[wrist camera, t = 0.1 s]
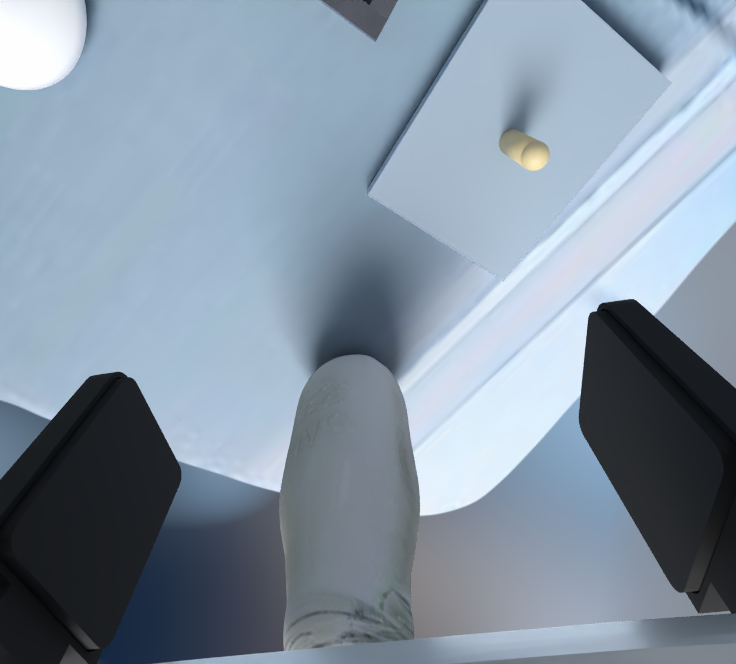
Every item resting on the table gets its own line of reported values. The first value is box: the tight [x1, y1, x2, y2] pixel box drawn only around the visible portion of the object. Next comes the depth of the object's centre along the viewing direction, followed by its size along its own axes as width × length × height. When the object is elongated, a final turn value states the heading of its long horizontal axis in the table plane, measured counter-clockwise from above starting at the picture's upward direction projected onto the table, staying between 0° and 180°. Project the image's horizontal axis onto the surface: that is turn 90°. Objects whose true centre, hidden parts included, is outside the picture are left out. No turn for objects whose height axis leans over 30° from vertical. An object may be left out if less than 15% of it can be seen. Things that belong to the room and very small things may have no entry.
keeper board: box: [367, 0, 671, 281], centre depth 32 cm, size 18×14×8 cm
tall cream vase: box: [279, 354, 420, 651], centre depth 36 cm, size 10×10×28 cm
